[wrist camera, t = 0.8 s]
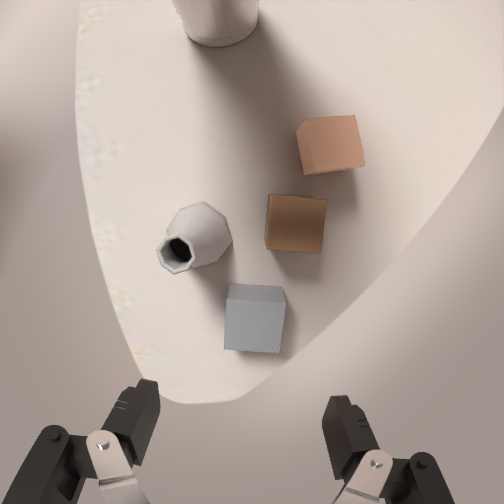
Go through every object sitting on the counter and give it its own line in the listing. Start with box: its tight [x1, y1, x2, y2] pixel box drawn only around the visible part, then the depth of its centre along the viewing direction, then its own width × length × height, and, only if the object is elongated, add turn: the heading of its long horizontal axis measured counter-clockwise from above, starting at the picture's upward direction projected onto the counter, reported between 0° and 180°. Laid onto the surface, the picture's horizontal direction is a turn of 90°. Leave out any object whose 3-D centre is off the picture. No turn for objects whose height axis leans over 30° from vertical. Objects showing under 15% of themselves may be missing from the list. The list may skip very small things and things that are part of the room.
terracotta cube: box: [295, 115, 365, 175], centre depth 26 cm, size 5×5×6 cm
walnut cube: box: [265, 194, 327, 254], centre depth 28 cm, size 5×5×6 cm
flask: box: [156, 202, 232, 274], centre depth 26 cm, size 7×7×10 cm
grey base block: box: [224, 283, 286, 353], centre depth 31 cm, size 6×6×5 cm
